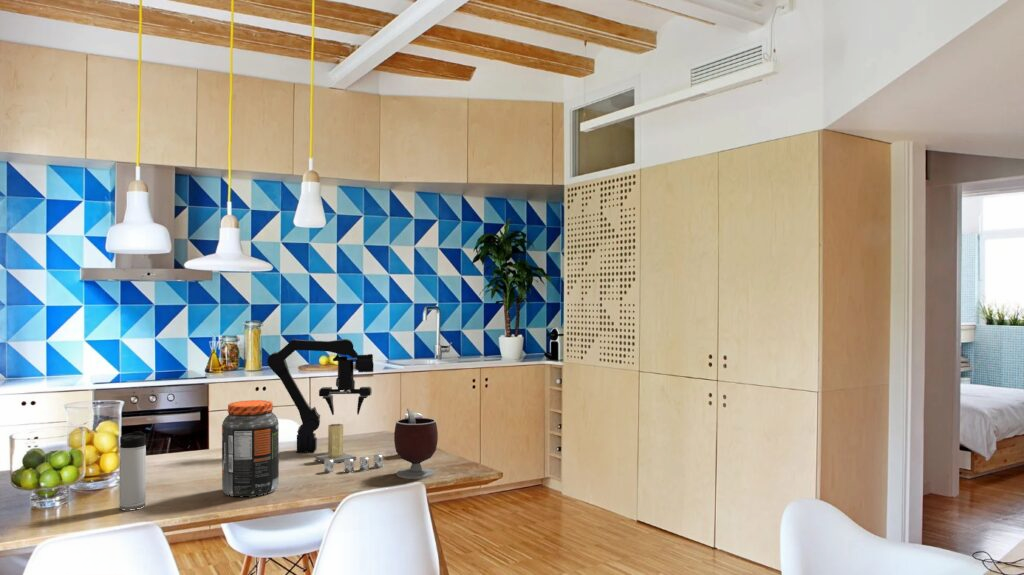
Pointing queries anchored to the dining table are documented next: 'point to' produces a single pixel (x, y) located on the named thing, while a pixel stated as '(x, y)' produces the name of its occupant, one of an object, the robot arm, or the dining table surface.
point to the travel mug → (132, 471)
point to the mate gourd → (415, 444)
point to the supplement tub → (250, 449)
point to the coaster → (336, 460)
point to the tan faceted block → (335, 440)
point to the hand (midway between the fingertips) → (345, 414)
